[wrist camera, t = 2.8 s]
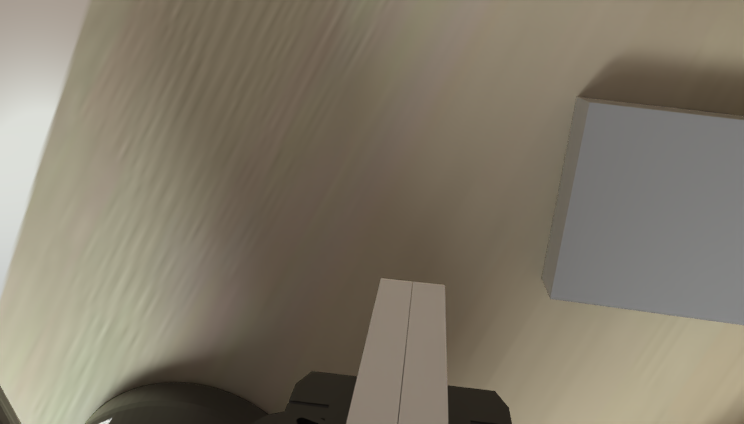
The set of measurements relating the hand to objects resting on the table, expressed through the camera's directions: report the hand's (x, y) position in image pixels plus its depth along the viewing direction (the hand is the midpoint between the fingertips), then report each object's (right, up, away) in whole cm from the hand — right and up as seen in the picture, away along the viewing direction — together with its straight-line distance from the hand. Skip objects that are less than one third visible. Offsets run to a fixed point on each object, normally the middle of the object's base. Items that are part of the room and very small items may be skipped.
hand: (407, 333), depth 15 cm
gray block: (+15, +3, +15) cm, 21 cm away
